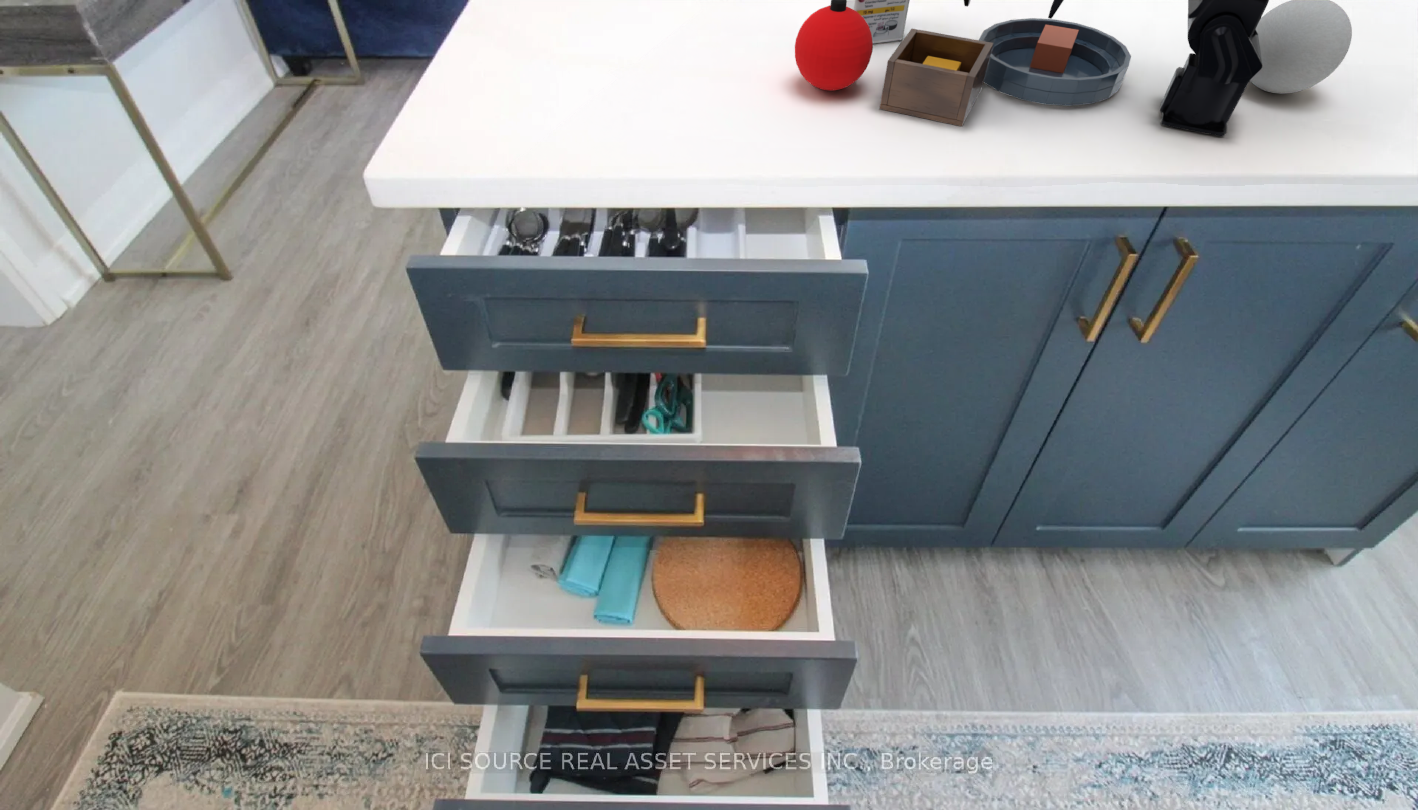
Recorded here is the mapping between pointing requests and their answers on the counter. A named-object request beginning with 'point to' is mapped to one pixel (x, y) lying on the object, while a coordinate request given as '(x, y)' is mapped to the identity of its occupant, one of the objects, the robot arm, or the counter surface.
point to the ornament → (833, 47)
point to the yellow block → (942, 63)
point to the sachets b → (1054, 48)
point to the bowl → (1083, 81)
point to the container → (882, 17)
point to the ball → (1301, 44)
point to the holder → (935, 77)
